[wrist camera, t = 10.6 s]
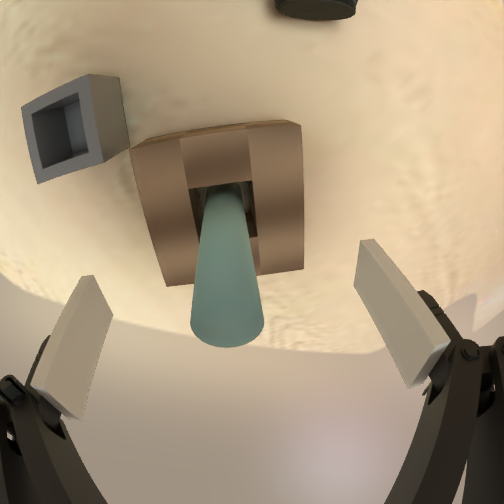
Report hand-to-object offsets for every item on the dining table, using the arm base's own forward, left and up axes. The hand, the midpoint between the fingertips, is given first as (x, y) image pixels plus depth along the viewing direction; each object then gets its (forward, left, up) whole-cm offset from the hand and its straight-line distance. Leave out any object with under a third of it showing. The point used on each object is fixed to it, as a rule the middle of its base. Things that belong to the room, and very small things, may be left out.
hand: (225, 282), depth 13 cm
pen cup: (-9, -11, -14) cm, 20 cm away
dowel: (0, 0, -14) cm, 14 cm away
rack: (0, 0, -14) cm, 14 cm away
